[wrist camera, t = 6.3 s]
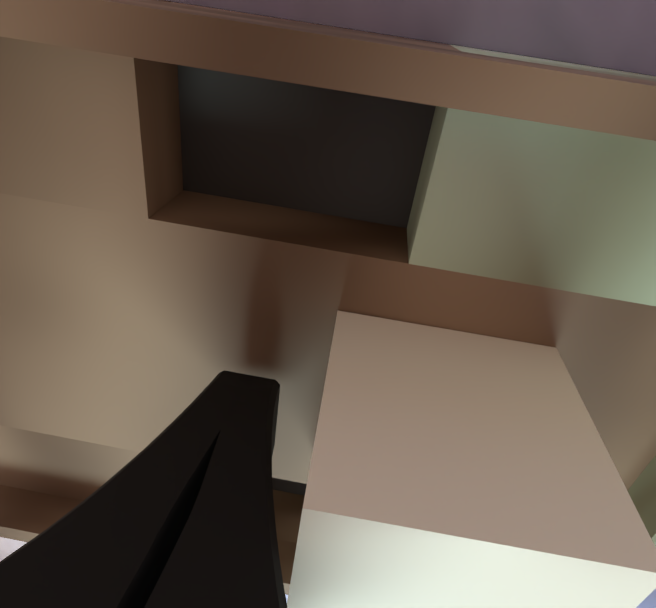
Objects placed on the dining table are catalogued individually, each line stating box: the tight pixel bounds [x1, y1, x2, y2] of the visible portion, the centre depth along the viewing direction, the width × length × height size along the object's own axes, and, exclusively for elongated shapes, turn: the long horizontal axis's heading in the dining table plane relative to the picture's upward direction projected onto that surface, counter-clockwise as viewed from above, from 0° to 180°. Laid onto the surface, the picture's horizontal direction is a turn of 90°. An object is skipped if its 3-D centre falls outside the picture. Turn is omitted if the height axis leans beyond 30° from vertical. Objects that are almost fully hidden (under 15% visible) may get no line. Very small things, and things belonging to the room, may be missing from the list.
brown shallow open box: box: [0, 0, 656, 595], centre depth 11 cm, size 18×14×3 cm
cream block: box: [287, 311, 656, 608], centre depth 9 cm, size 4×4×4 cm
